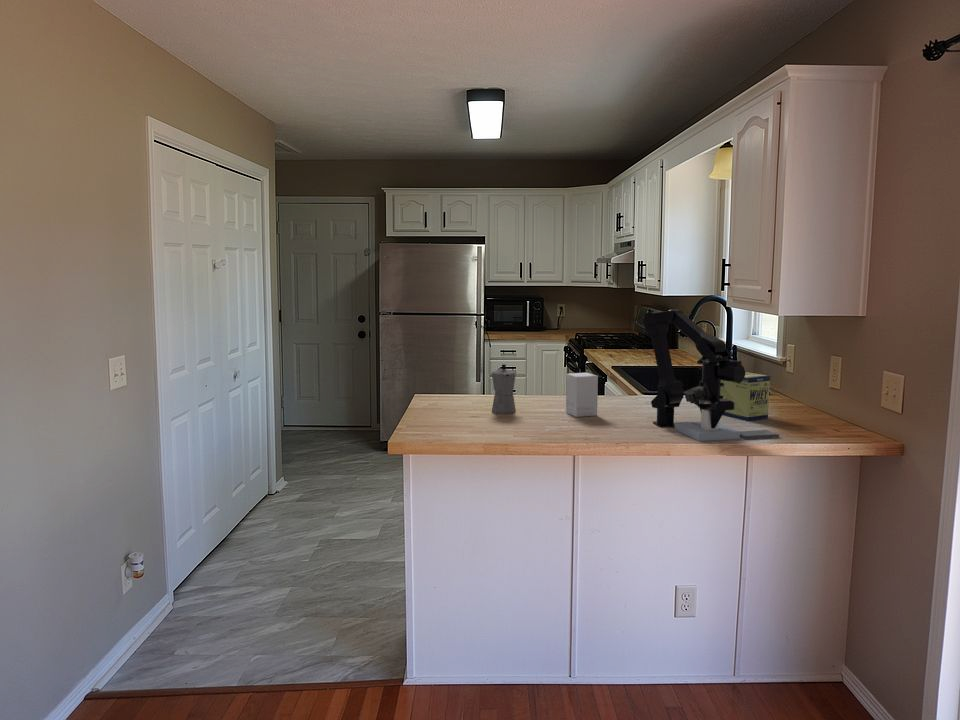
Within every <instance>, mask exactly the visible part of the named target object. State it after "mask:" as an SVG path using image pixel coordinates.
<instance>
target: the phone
mask: <svg viewBox="0 0 960 720" xmlns="http://www.w3.org/2000/svg"><path fill="white" fill-rule="evenodd" d="M739 431H740V439H743V440H759V439H758V438H763V439H774V438H773V437H779V438H780V434H779V433H776V432H773V431H770V430H768V429H761V430H760V429H759V430H757V429H756V430H743V431H742V430H739Z"/></svg>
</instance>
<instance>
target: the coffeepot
mask: <svg viewBox="0 0 960 720" xmlns="http://www.w3.org/2000/svg"><path fill="white" fill-rule="evenodd" d="M506 368H507V364H501V367H498V368H497V370H493V371H492V372H491V377H492V385H493V390H494V396H493V402H492V408H491V412H492V413H493V412H494V414H499V415H509V414H514V413H515V412H516V403H515V398H514V397H515V396H514V393H513V391H514V389H515V382H516V375H517V372H516V371H513V370H511V369H506Z"/></svg>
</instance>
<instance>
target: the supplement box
mask: <svg viewBox="0 0 960 720" xmlns="http://www.w3.org/2000/svg"><path fill="white" fill-rule="evenodd" d="M565 376H566V379H565V380H566V382H565V383H566V384H565V387H566V388H565V389H566V390H565V395H566V396H565V413H566V414H568V415H571V416H572V417H576V418H580V417H595V416H598V399H599V398H598V394H599V393H598V392H599V391H598V389H599V388H598V386H599V375H596V374H592V373H590V372H574V373H572V372H571V373H570V372H569V373H566V375H565Z"/></svg>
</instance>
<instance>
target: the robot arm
mask: <svg viewBox="0 0 960 720" xmlns="http://www.w3.org/2000/svg"><path fill="white" fill-rule="evenodd" d="M642 323H643V326H644V329H645V332H646V334H648V336H649V338H651V342H652V346H653V352H654V357H655V362H656V366H657V372H658V377H659V381H658V383H657V386H656V387H657V388H656V389H657V390H656V392H657V394H656V396H655V397H654V398H653V399H652V400H651V401H650V403H651V407H652V408H654V409H656V421H652V424H654V425H655V426H658V427H660V428H663V427H664V428H666V427H667V428H668V427H675V408H679V407H680V405H681V402H682V401H683V399H684V398H685V401H686V402H688V403H690V404H694V405H695V406H697V408H699V411H700V412H701V411H702V409H708V411H709V412H710V420H711V428H715V427H716V425H717V424H718V422H719V423H720V420H721V418H722V417H723V416H724V415H723V414H724V412H725V411H726V410H734V408H735V403H734V402H733V401H731V400H728V399H723V395H720V392H721V386H724V383H722V382H721V380H722V381H728V382H735V383H741V382H742V381H743V379H744V377H745V372H746V371H745V367H744V366H743V365H742V361H741V360H733V358H732V356H731V354H730V353H729V350H728V349H727V348H726V343H725V341H723V339H721V338H719V337H717V336H715V335H712V334H710V333H708V332H705V331H704V329H702V328H701V327H700V326H699V325H698V324H696V323H695V322H694V321H693V320H692V319H690V318H689V317H688V316H687V315H686V314H685V313H684V312H683V310H681V309H678V308H677V309H669V310H666V311H648V312H646V313H645V314H644V316H643V318H642ZM670 324H673V325H674V326H675V327H676V328H677V329H678V330H679V331H681V332H682V333H683V334H684V335H685V336H686V337H687V338H688V339H690V341H692V342H693V344H694V345H695V348H696V350H697V351H698V353H699V354H700V356H701V358H700V359H698V360H697V361H696V363H697V364H698V365H699V364H700V365H702V371H701V372H702V375H701V380H699V382H698V386H695V387H692V388H690V389H687V390H685V389H684V386H683V385H684V384H683V381H682V380H678V379H677V378H676V377H675V372H674V368H673V361H672V358H671V353H670V348H669V342H668V338H667V334H668V332H669V329H670V326H669V325H670Z"/></svg>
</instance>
